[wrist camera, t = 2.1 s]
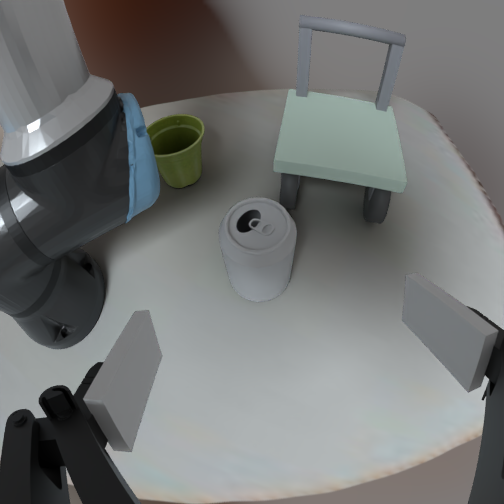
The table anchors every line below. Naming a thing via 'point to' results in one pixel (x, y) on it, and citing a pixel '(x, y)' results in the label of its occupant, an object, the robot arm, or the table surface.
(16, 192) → the robot arm
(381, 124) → the trolley
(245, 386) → the table surface
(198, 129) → the plant pot
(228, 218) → the can
